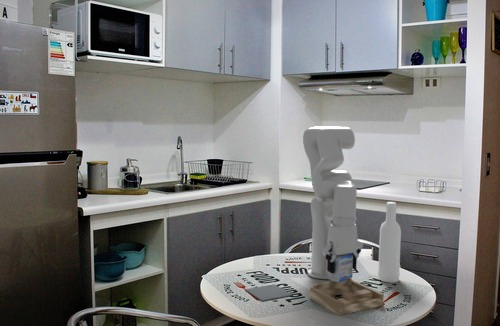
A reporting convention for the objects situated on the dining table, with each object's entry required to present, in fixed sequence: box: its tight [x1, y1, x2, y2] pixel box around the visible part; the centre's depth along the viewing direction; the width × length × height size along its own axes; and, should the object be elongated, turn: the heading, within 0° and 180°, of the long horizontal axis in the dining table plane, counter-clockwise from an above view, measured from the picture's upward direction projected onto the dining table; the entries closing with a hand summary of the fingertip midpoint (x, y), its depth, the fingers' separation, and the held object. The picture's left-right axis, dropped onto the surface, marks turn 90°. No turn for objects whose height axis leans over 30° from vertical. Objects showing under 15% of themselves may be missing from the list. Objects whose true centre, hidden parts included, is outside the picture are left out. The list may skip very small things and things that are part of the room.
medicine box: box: [328, 253, 354, 283], centre depth 172 cm, size 8×4×9 cm, turn 133°
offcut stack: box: [336, 289, 373, 306], centre depth 166 cm, size 14×4×5 cm, turn 119°
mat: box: [245, 283, 293, 302], centre depth 178 cm, size 12×12×1 cm
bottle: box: [377, 201, 402, 283], centre depth 193 cm, size 8×8×30 cm
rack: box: [309, 277, 384, 316], centre depth 170 cm, size 18×16×5 cm
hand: (341, 270), depth 172 cm, fingers closed on medicine box, 8 cm apart
